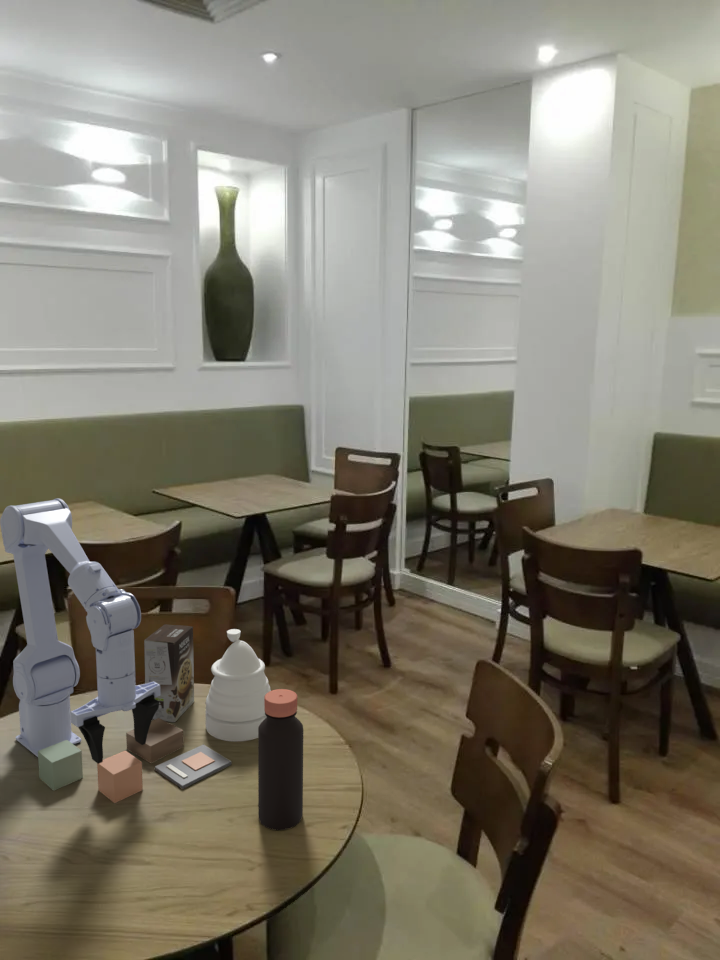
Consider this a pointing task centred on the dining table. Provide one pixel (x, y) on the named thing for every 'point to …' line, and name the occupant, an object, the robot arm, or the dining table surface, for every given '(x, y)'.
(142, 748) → the walnut base
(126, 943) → the dining table surface
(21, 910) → the dining table surface
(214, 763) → the card
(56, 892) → the dining table surface
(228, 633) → the honey pot
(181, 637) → the coffee box
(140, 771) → the terracotta block
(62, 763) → the sage block
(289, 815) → the bottle
